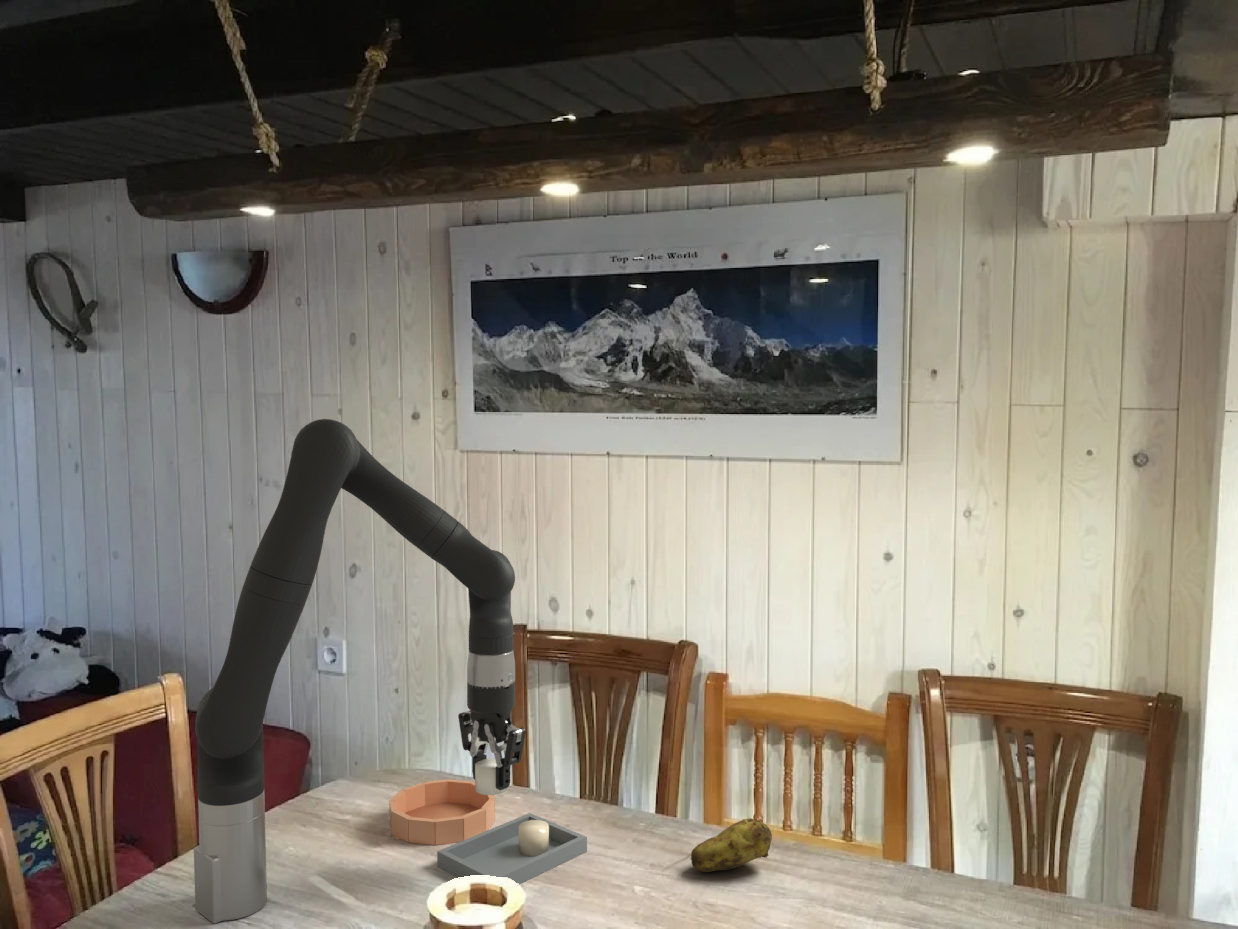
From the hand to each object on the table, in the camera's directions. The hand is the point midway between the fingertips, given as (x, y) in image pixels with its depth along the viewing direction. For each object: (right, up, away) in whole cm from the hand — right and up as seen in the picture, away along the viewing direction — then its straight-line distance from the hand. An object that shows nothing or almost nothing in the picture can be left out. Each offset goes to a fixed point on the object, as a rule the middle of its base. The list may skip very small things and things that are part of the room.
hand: (491, 783), depth 158 cm
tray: (+3, -15, +4) cm, 16 cm away
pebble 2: (+6, -13, +8) cm, 17 cm away
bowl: (-11, -14, +19) cm, 26 cm away
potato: (+38, -15, +3) cm, 41 cm away
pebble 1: (0, -1, 0) cm, 1 cm away
